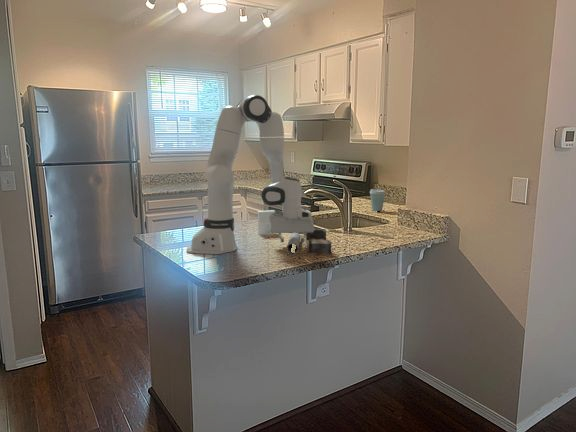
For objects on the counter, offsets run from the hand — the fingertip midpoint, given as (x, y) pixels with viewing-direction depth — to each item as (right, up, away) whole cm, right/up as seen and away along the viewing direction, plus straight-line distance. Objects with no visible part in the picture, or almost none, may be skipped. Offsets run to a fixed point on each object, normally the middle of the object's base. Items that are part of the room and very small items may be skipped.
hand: (292, 242), depth 199 cm
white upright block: (-13, +3, +27) cm, 31 cm away
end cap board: (+12, -2, 0) cm, 12 cm away
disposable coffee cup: (+58, +15, +93) cm, 110 cm away
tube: (+1, -3, 0) cm, 3 cm away
